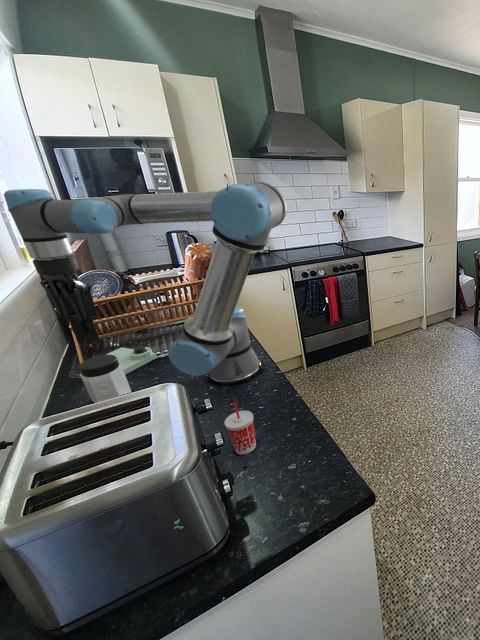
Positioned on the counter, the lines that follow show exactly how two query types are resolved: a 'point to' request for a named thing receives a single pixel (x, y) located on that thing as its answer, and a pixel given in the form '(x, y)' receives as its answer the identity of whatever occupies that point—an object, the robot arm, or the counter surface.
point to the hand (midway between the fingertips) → (89, 341)
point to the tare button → (139, 349)
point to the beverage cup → (241, 430)
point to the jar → (104, 377)
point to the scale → (132, 358)
